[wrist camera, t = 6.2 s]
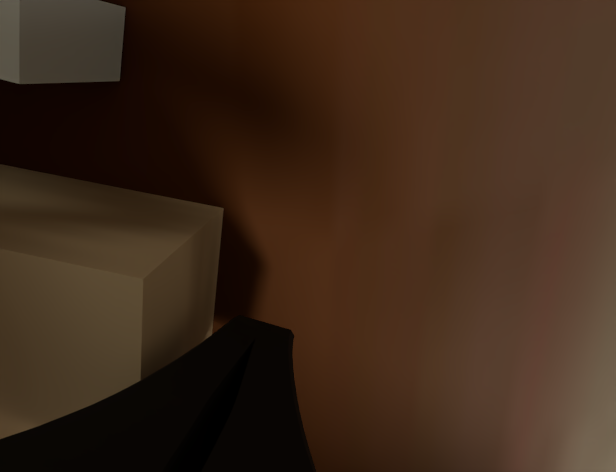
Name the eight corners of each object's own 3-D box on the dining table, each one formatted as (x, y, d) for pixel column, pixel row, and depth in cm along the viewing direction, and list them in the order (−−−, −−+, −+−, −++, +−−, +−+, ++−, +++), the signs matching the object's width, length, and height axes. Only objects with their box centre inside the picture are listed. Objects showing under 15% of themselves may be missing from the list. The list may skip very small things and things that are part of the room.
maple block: (224, 207, 11) (143, 279, 7) (205, 406, 13) (136, 541, 9) (-9, 161, 11) (-201, 205, 7) (11, 360, 13) (-131, 471, 10)
